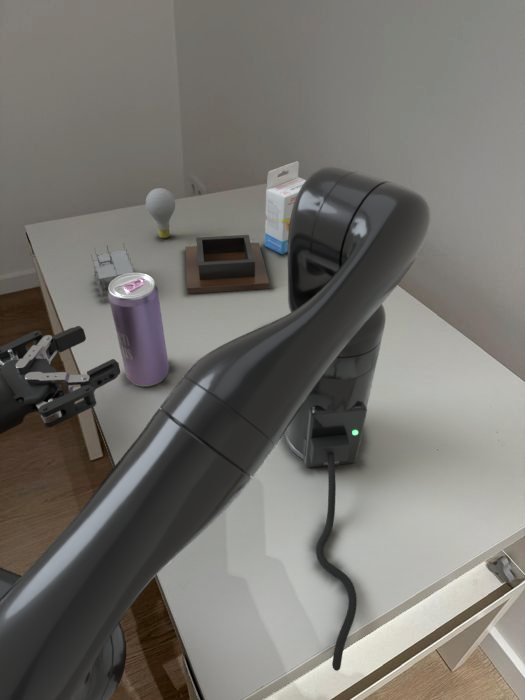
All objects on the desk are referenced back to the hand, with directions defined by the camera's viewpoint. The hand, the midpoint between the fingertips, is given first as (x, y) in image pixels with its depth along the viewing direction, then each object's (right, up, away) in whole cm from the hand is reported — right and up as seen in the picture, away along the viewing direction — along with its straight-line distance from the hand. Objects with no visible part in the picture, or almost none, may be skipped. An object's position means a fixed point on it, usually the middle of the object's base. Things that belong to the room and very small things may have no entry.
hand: (100, 348), depth 64 cm
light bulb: (+1, +22, +38) cm, 44 cm away
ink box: (+25, +21, +37) cm, 49 cm away
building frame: (-5, +11, +25) cm, 27 cm away
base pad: (+14, +14, +29) cm, 35 cm away
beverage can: (+4, -4, +8) cm, 10 cm away
